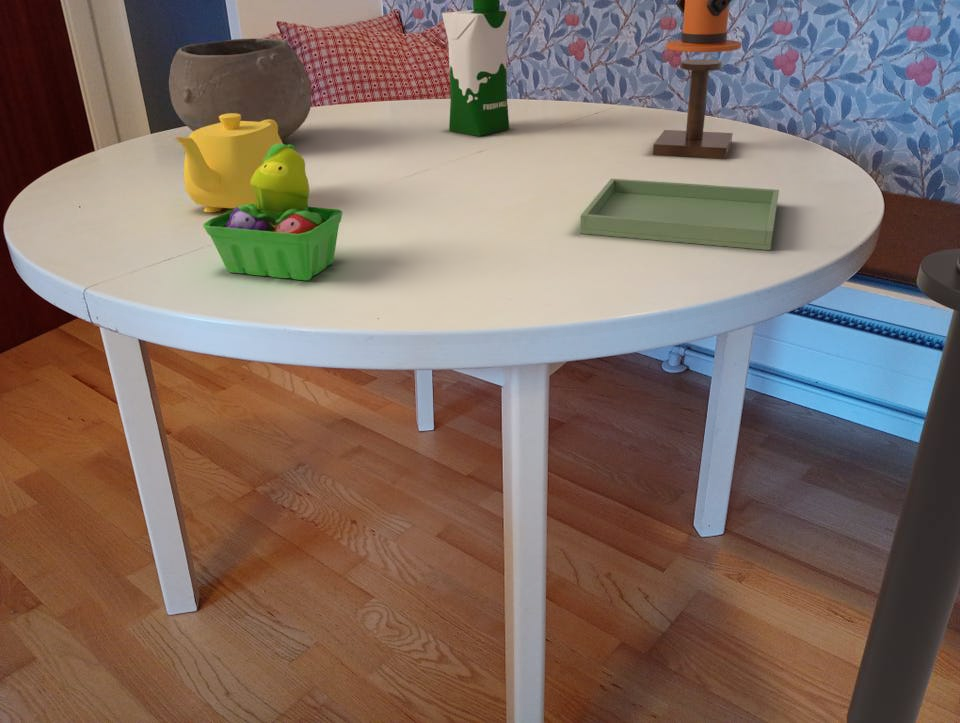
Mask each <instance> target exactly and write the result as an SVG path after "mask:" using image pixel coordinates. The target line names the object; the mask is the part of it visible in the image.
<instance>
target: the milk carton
mask: <svg viewBox="0 0 960 723" xmlns="http://www.w3.org/2000/svg"><path fill="white" fill-rule="evenodd" d="M441 16H442V20H443V25H444V29H445V33H446V37H447V43H448V44H447V45H448V64H449V66H448V67H449V89H450V90H449V92H450V105H449V107H450V108H449V125H448V126H449V127H448V129H449V130H448V131H449V132H454V133H459V134H464V135H470V136H475V137H484V136H487V135H491V134H496V133H499V132H503V131H508V130H510V121H509V120H510V118H509V106H508V104H509V103H508V68H507V67H508V63H507V62H508V60H507V59H508V57H507V54H508V52H507V50H508V48H507V47H508V45H507V42H508V35H509V34H508V33H509V28H510V22H511V16H512V11H511V10H503V9H502V10H501V9H500V0H472V9H469V10H468V9H467V10H460V11H451V12H450V11H449V12H442V13H441Z"/></svg>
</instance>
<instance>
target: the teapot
mask: <svg viewBox="0 0 960 723" xmlns="http://www.w3.org/2000/svg"><path fill="white" fill-rule="evenodd" d="M219 119H220V121H221V123H217V124H213V125H209V126H206V127H203V128H200V129H197V130H195V131H192V132H191V133H190V134H189V137H187V136H185V137H183V136H182V137H179V136H178V137H174V140H176V141H177V142H179V143H180V145H182V147H183V150H184V152H185V155H184V163H183V180H184V187H185V191H186V193H187V195H188V196H189V198H190V199H191V200H192V201H193V202H194V204H196V205H199V206H204V207H205V208H204V209H203V212H205V213H216V212H221V211H222V210H223V209H235V208H236V207H237V206H242V205H245V204H256V203H258V200H257V198H256V195H255V193H254V190H253V188H252V186H251V183H250V182H251V179H252V176H253V174H254V173H255V171H256V170H257V169H258V168H259V167H260V166H261V165H262V164H263V163H264V162H263V159H265V157H266V155H267V153H268V151H269V149H270V148H271V147H272V146H273V145H275V144H279V143H281V144H284V142H283V140H281V139H280V137H279V135H278V125H277V123H276V121H274V120H271V119H267V120H263V121H261V122H254V121H240V120H241V115H240V114H237V113H229V114H223V115H220V116H219Z"/></svg>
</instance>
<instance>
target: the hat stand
mask: <svg viewBox="0 0 960 723" xmlns="http://www.w3.org/2000/svg"><path fill="white" fill-rule="evenodd" d="M722 67H723V61H721V60H717V59H709V58H707V59H706V58H705V59H704V58H693V59H684V60H681V61H680V64H679V69H680V70H681V69H682V70H684V71H690V81H689V82H690V83H689V95H688V104H687V105H688V106H687V116H686V125H685V126H686V128H685V130H679V129H678V130H676V129H664V130H663V131H662V132H661V133H660V135H659V137H658V138H657V139H656V140H655V141H654V143H653V146H652V155H653V156H669V157H684V158H685V157H687V158H688V157H689V158H704V159H721V160H726V158H727V155H728V153H729V150H730V148H731V145H732V142H733V132H720V131H719V132H717V131H704V126H705V117H706V107H707V99H708V98H707V96H708V89H709V88H708V86H709V77H710V76H709V75H710V72H711V71H718V70H721V69H722Z"/></svg>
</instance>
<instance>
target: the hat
mask: <svg viewBox="0 0 960 723" xmlns="http://www.w3.org/2000/svg"><path fill="white" fill-rule="evenodd" d="M708 2H709V0H685V8H684V13H683V21H682V22H683V24H682V31H681V37H680V39H678V40H677V39H676V40H671V41H667V42H666V43H665V49H667V50H670V51H674V52H685V53H722V52H731V51H736V50H740V49H741V48H742V43H741V41H737V40H732V39H727V36H728V31H727V29H728V21H729V12H730V10H729V9H730V3H729V4H728V5H727V7H726V8H725V9H724V10H723V11H722V12H721V14H720V15H719V16H713V15H712V14H711V13H710V11H709V10H708V8H707V3H708Z"/></svg>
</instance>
